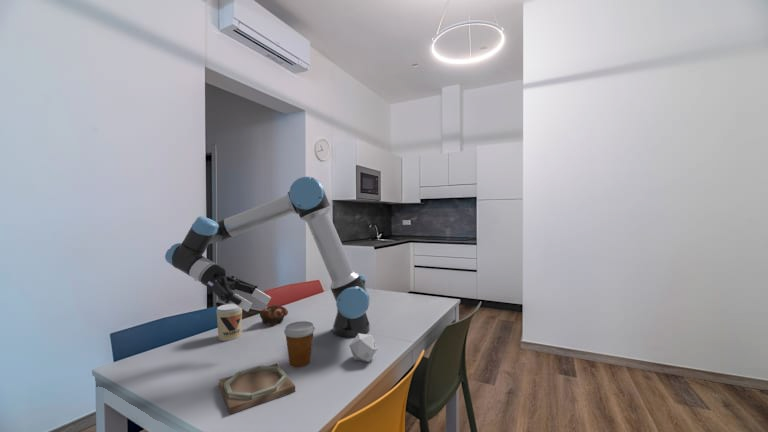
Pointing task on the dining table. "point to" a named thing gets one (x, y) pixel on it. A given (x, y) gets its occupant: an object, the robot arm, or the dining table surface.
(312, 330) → the disposable coffee cup
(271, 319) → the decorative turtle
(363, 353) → the die
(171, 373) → the dining table surface
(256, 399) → the cup holder board
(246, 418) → the dining table surface
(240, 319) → the coffee cup
